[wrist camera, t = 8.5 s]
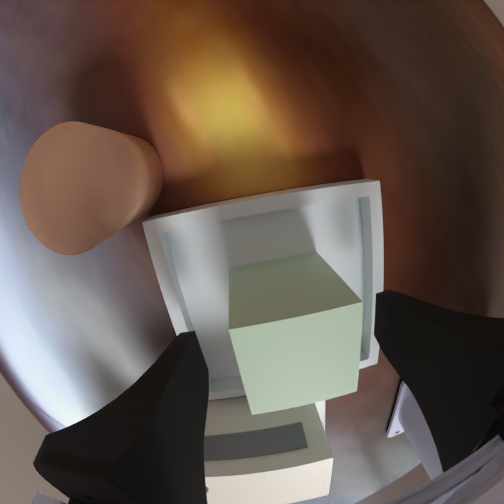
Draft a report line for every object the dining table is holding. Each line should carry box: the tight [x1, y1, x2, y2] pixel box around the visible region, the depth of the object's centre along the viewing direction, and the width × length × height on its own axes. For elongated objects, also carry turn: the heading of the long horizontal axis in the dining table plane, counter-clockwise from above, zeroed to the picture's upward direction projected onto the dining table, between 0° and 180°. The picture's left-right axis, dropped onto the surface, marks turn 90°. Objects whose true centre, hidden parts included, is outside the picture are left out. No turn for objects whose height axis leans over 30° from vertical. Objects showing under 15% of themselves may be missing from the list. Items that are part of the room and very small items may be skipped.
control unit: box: [204, 395, 333, 504], centre depth 13 cm, size 10×8×6 cm
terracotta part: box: [20, 121, 164, 255], centre depth 9 cm, size 4×4×5 cm
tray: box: [142, 179, 384, 400], centre depth 13 cm, size 10×10×1 cm
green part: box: [229, 252, 363, 415], centre depth 11 cm, size 4×4×5 cm
